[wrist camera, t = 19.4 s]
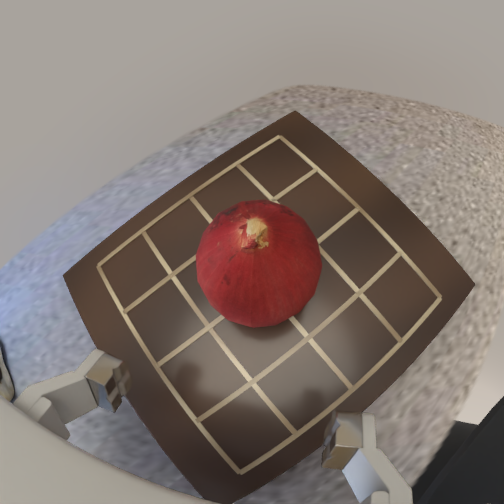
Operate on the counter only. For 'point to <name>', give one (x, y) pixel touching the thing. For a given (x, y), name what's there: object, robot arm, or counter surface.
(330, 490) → the counter surface
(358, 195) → the grid board
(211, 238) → the onion
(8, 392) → the pastry
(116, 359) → the robot arm
